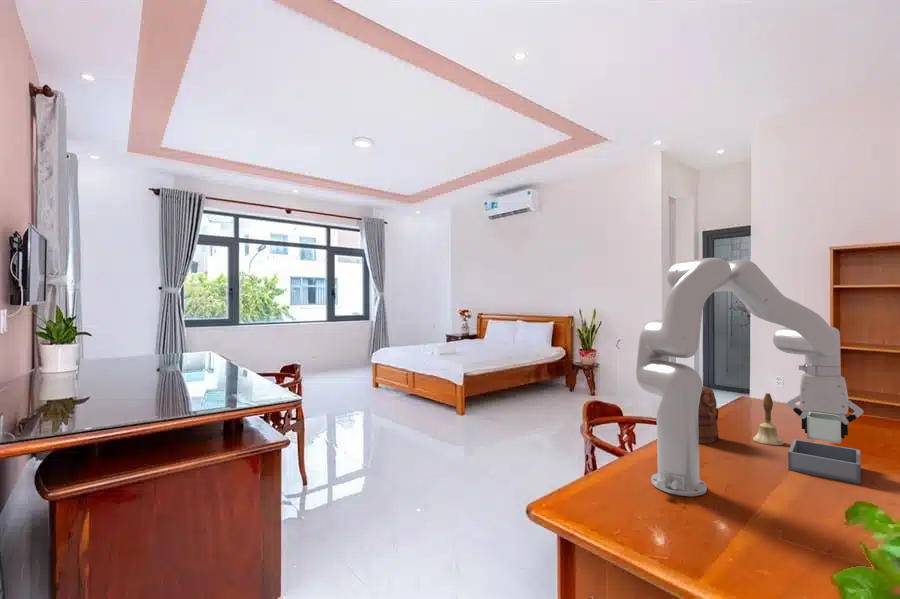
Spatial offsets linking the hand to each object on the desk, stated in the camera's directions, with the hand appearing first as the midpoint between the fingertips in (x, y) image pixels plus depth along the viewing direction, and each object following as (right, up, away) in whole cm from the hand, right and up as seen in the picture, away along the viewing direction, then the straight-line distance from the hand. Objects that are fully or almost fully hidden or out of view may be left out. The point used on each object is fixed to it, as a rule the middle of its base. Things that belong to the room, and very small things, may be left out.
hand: (824, 434), depth 121 cm
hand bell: (+1, -10, +23) cm, 25 cm away
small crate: (0, -1, 0) cm, 1 cm away
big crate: (0, -10, 0) cm, 10 cm away
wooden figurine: (-18, -10, +26) cm, 33 cm away
